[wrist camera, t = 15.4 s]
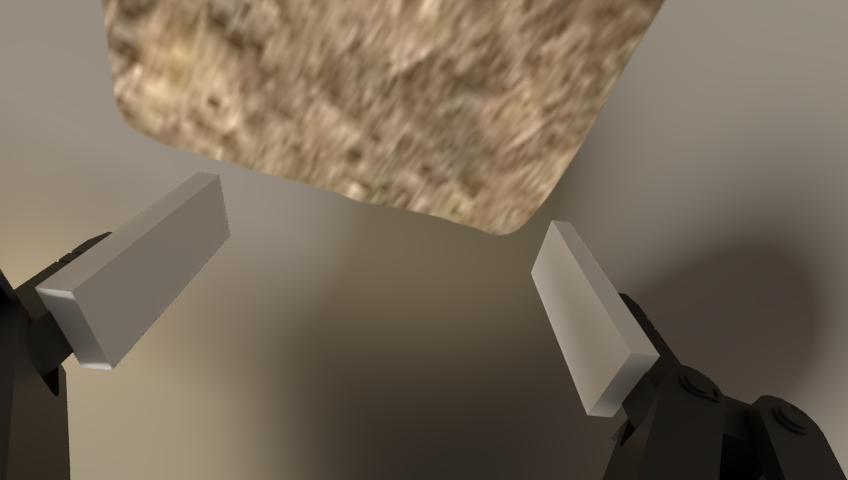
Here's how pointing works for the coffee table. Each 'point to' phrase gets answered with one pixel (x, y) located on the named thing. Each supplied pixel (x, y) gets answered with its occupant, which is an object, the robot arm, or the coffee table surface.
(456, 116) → the coffee table surface
